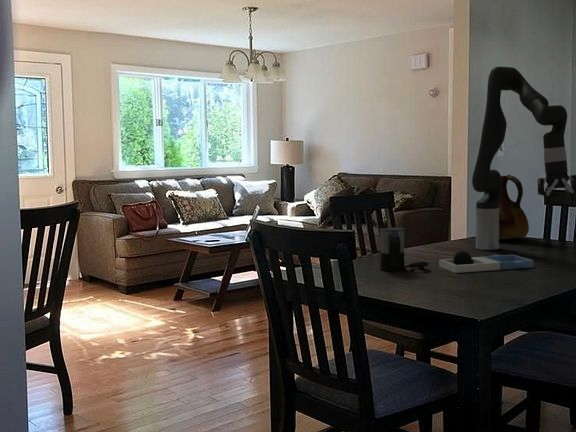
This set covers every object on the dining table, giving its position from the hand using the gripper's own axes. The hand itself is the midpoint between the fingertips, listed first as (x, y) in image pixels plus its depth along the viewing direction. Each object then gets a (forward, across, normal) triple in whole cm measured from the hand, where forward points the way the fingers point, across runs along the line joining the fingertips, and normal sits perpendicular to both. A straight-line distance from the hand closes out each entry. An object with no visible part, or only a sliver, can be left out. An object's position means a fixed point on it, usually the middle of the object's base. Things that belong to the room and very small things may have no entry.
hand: (559, 204), depth 238 cm
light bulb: (+20, +38, +1) cm, 42 cm away
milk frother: (+18, +59, -3) cm, 62 cm away
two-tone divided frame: (+20, +30, 0) cm, 35 cm away
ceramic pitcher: (+17, -6, -61) cm, 64 cm away
